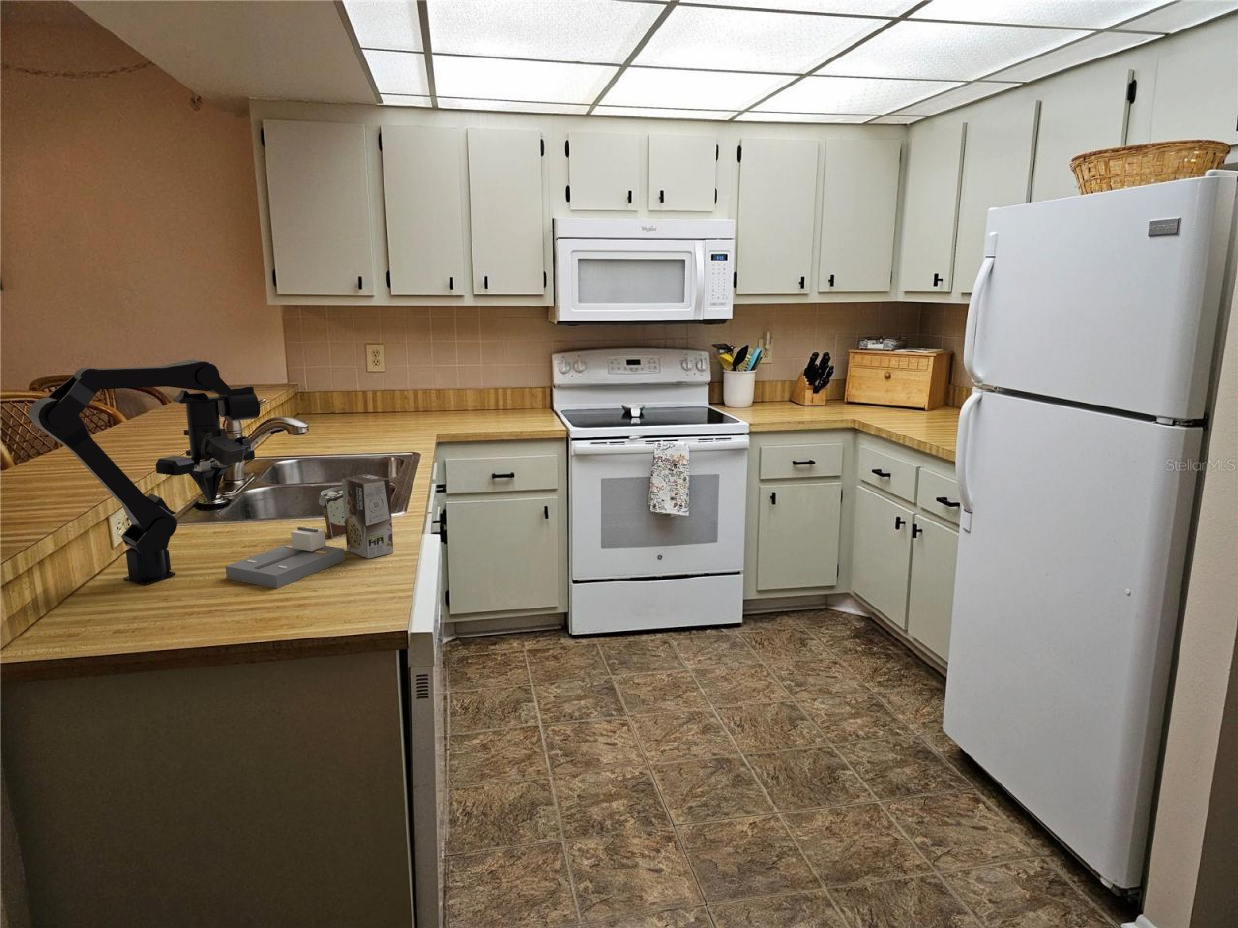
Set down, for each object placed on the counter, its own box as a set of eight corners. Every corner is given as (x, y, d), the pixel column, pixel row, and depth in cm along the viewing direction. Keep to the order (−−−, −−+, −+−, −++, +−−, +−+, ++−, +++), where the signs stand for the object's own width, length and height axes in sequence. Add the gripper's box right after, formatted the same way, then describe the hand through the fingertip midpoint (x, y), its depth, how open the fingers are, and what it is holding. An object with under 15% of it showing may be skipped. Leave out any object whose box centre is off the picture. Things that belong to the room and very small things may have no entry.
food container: (355, 523, 194) (353, 483, 192) (371, 528, 191) (369, 486, 189) (310, 535, 184) (306, 492, 182) (326, 540, 181) (323, 496, 179)
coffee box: (394, 552, 172) (391, 478, 169) (367, 559, 168) (363, 483, 165) (372, 543, 179) (368, 472, 175) (345, 550, 174) (340, 477, 171)
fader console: (277, 588, 151) (276, 574, 150) (226, 578, 156) (225, 565, 155) (345, 560, 167) (344, 547, 167) (297, 552, 172) (296, 540, 172)
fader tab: (311, 551, 164) (309, 532, 163) (292, 548, 166) (291, 529, 165) (325, 545, 167) (324, 527, 166) (307, 542, 169) (305, 524, 168)
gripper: (191, 434, 148) (200, 516, 151) (271, 420, 165) (277, 495, 168) (149, 430, 152) (158, 510, 155) (231, 417, 169) (238, 489, 172)
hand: (211, 501), depth 163 cm, fingers closed
